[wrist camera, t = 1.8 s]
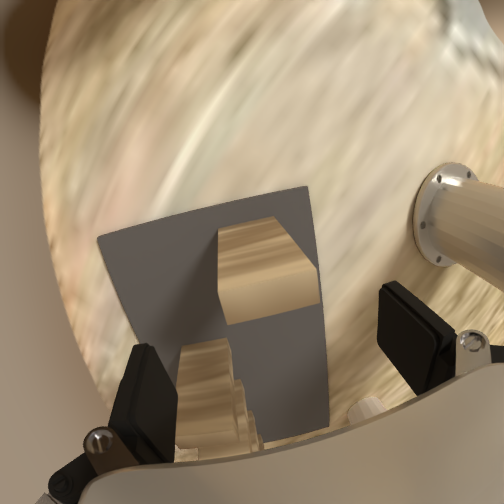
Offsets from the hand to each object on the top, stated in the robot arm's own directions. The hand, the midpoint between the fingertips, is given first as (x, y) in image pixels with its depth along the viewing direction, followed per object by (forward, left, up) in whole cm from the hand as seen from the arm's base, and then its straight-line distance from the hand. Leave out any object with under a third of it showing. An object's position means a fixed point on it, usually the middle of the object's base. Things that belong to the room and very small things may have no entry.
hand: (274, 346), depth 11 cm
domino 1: (+6, +12, -16) cm, 21 cm away
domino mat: (+3, +15, -16) cm, 23 cm away
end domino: (-1, 0, -16) cm, 16 cm away
